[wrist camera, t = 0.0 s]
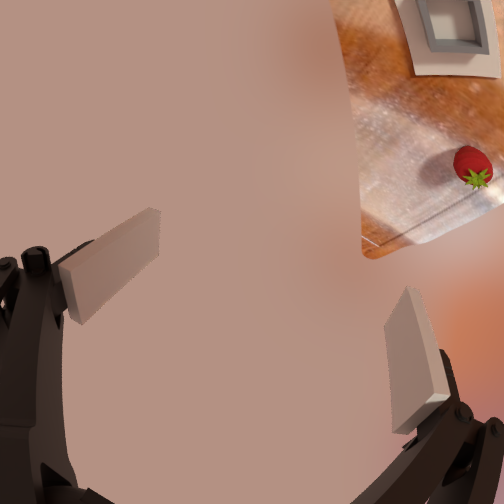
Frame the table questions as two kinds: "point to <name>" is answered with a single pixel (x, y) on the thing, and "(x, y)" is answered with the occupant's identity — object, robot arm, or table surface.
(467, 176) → the strawberry
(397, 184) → the table surface
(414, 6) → the square frame plate
